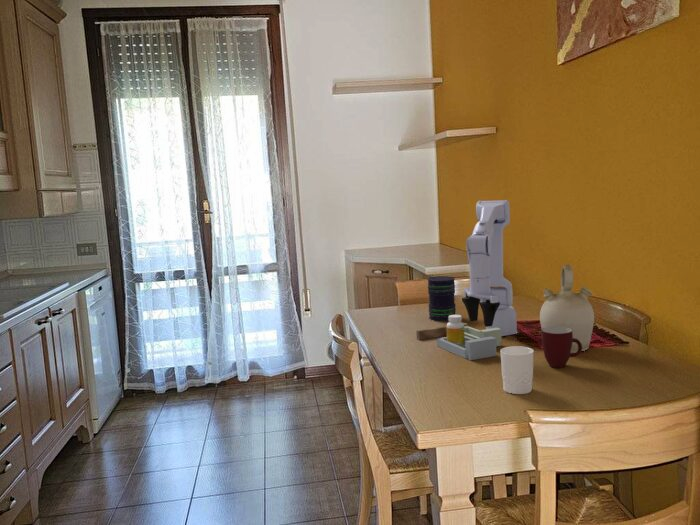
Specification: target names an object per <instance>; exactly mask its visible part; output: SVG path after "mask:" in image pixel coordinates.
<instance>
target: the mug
mask: <svg viewBox="0 0 700 525" xmlns="http://www.w3.org/2000/svg"><path fill="white" fill-rule="evenodd" d="M540 332H541V333H540V334H541V335H540V336H541V345H542V350H543V355H544V358H545V360H546V362H547V365H548V366H549V367H551V368H554V369H560V368H561V369H562V368H564V367H566V365H567V363H568V361H569V360H570V358H573V357H578V356H579V355H580V354H581V353H582V352H581V351H582V344H581V342H580V341H579V340H578V339H575V338H573V333H572V329H570V328H566V327H546V328H543V329H541V331H540ZM572 342H575V343H577V345H578V351H577V352H576V353H570V352H571V347H572Z"/></svg>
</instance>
